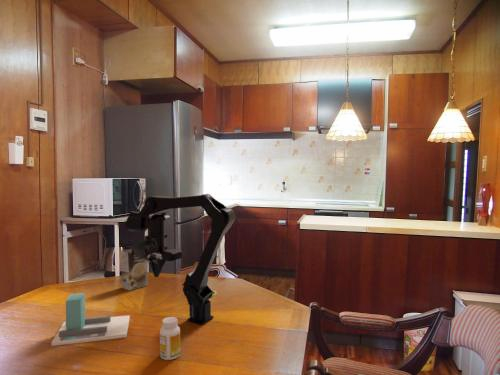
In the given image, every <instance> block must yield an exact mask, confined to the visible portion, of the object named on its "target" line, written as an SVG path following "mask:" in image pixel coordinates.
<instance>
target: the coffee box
mask: <svg viewBox="0 0 500 375" xmlns="http://www.w3.org/2000/svg"><path fill="white" fill-rule="evenodd" d="M148 263H149V262H148V261H147V260H145V259H144V258H140V257H136V256H135V255H132V248H129V249H123V250H121V288H122V289H124V290H127V291H133V290H136V289H140V288H143V287H147V286H149V280H148V279H149V278H148V274H149V273H148V272H149V270H148V269H149V264H148Z"/></svg>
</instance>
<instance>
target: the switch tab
mask: <svg viewBox="0 0 500 375" xmlns="http://www.w3.org/2000/svg"><path fill="white" fill-rule="evenodd" d="M85 296H86V293H85V292H79V293H78V292H77V293H70V295H69V296H68V297H67V298H66V300H65V322H66V330H74V329H83V328H84V326H85V318H86V297H85Z"/></svg>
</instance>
